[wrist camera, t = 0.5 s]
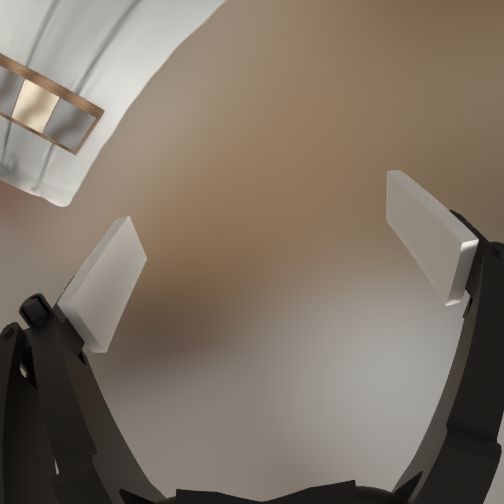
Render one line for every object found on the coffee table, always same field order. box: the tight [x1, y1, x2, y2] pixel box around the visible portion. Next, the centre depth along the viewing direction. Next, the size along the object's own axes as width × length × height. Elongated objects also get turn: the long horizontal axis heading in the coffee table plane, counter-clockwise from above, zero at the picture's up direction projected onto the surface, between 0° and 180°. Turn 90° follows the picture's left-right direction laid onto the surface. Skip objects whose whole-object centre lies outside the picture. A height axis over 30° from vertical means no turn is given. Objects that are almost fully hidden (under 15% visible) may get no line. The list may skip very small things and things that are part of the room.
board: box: [0, 54, 104, 155], centre depth 33 cm, size 33×12×2 cm, turn 41°
